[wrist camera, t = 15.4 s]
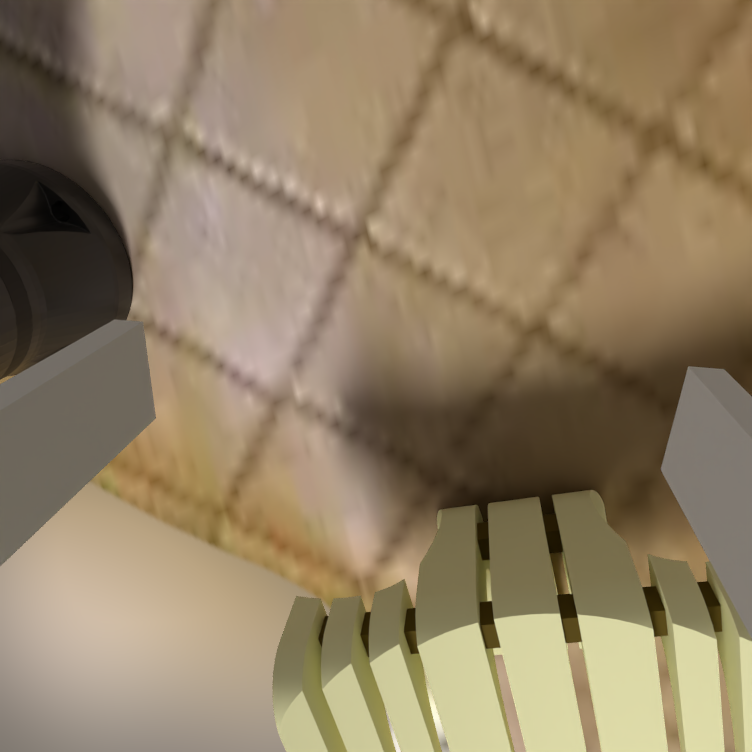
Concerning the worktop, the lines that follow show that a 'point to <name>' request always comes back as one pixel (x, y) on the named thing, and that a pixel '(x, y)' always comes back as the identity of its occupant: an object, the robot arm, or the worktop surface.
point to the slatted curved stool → (517, 645)
